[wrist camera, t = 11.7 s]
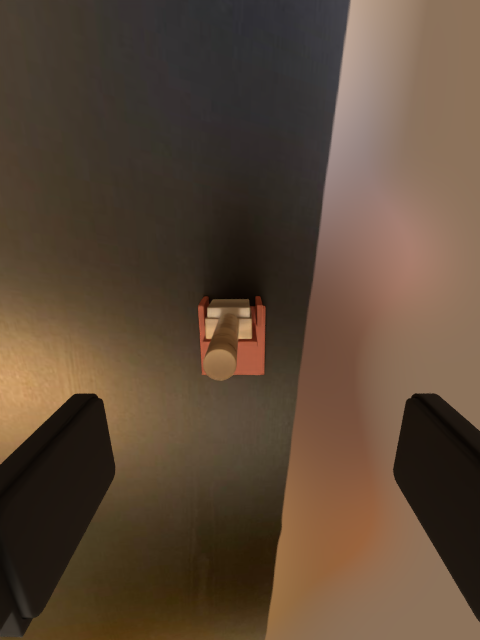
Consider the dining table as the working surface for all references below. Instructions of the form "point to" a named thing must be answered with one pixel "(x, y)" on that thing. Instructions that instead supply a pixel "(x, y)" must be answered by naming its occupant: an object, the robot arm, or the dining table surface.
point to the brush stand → (241, 340)
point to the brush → (225, 335)
